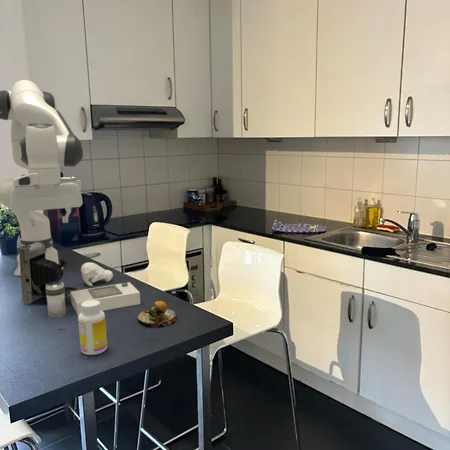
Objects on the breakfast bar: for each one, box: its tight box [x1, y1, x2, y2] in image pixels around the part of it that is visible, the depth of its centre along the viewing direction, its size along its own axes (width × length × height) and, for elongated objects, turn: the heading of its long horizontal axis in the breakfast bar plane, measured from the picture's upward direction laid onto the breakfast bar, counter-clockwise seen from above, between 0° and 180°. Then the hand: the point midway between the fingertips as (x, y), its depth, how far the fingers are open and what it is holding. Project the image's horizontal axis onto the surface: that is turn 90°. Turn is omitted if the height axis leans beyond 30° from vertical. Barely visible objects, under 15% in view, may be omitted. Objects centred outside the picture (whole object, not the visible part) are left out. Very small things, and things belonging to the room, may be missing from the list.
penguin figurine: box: [80, 261, 114, 287], centre depth 171 cm, size 6×8×12 cm
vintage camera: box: [18, 241, 78, 305], centre depth 151 cm, size 10×16×20 cm, turn 79°
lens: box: [45, 280, 67, 319], centre depth 140 cm, size 6×6×10 cm
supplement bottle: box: [77, 300, 108, 356], centre depth 116 cm, size 7×7×13 cm
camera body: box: [69, 282, 141, 316], centre depth 150 cm, size 12×20×5 cm, turn 118°
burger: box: [136, 296, 177, 329], centre depth 136 cm, size 12×12×8 cm
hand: (49, 224), depth 137 cm, fingers open, 8 cm apart
